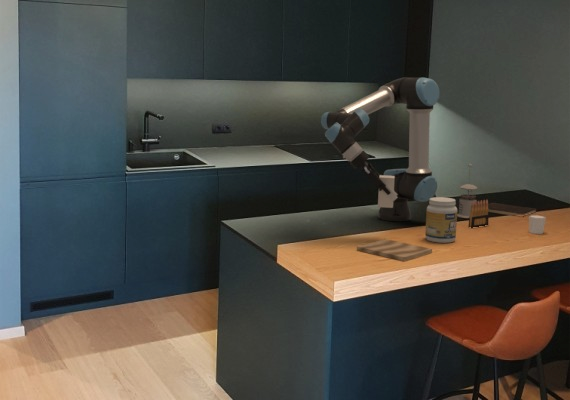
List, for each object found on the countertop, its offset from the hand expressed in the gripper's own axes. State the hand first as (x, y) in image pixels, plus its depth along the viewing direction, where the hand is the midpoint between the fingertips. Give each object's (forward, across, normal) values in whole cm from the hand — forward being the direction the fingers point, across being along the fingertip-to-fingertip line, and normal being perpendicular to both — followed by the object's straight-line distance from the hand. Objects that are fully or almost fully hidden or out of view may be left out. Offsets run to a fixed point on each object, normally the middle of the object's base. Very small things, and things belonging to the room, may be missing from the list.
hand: (394, 198), depth 287 cm
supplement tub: (+26, -4, +1) cm, 26 cm away
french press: (+37, -56, +13) cm, 69 cm away
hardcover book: (+51, -71, +27) cm, 92 cm away
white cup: (+55, -26, +31) cm, 68 cm away
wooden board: (+13, +18, -12) cm, 25 cm away
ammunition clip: (+39, -32, +15) cm, 53 cm away
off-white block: (0, 0, -5) cm, 5 cm away
